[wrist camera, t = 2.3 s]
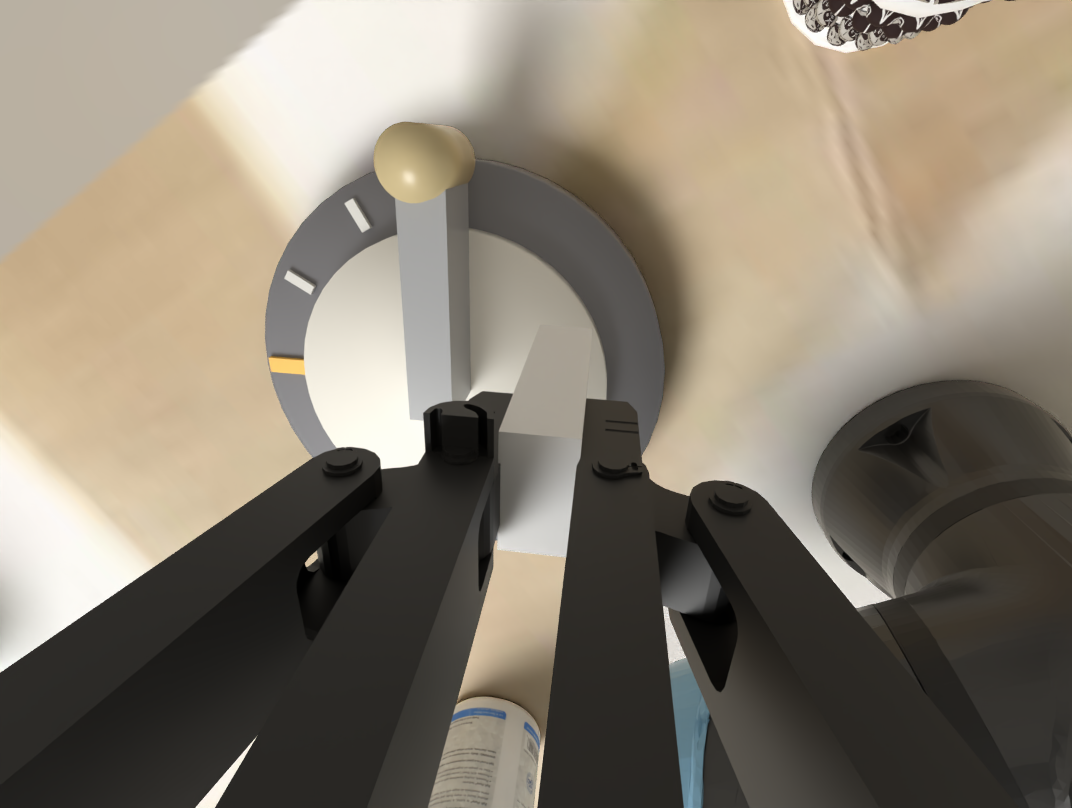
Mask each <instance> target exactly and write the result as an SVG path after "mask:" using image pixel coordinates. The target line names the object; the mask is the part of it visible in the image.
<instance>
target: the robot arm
mask: <svg viewBox="0 0 1072 808" xmlns="http://www.w3.org/2000/svg"><path fill="white" fill-rule="evenodd" d="M592 332H593V328H580V327H566V326H553V325H540V326H539V329H538V331H537V334H536V336H535V339H534V342H533V344H532V347H531V349H530V352H529V354H528V357H527V360H526V362H525V365H524V367H523V370H522V372H521V375H520V378H519V380H518V383H517V385H516V388H515V390H514V393H513V394H512V393H500V392H488V391H482V392H480V393H478V394H477V395H475V396H474V397H472V398H470V399H469V401H449V402H443V403H439V404H436V405H434V406H431V407H429V408H428V409H427V410H426V411H425V412H423V420H424V438H425V453H424V455H423V456H422V458H421V460H420V461H419V463H418V464H417V465H413V466H407V467H398V468H387V469H381V462H380V458H379V457H378V456H377V454H376V453H375V452H372V451H370V450H367V449H364V448H356V447H346V448H345V447H341V448H336V449H334V450H330V451H326V452H323V453H321V454H320V455H318V456H316V457H314V458H312V459H311V460H309V461H308V462H306V463H305V464H303V465H302V466H300V467H299V468H297V469H296V470H295V471H293V472H292V473H290V474H289V475H287V476H286V477H284V478H283V479H281V480H280V481H279V482H277V483H276V484H274V485H273V486H271V487H270V488H268V489H267V490H265V491H264V492H263V493H261V494H260V495H258V496H257V497H255V498H254V499H252V500H251V501H249V502H248V503H247V504H245V505H244V506H242V507H241V508H239V509H238V510H236V511H235V512H233V513H232V514H231V515H229V516H228V517H226V518H225V519H223V520H222V521H220V522H219V523H217V524H216V525H215V526H213V527H212V528H210V529H209V530H207V531H206V532H204V533H203V534H201V535H200V536H199V537H197V538H196V539H194V540H193V541H191V542H190V543H188V544H187V545H185V546H184V547H183V548H181V549H180V550H178V551H177V552H175V553H174V554H172V555H171V556H169V557H168V558H167V559H165V560H164V561H162V562H161V563H159V564H158V565H156V566H155V567H153V568H152V569H151V570H149V571H148V572H146V573H145V574H143V575H142V576H140V577H139V578H137V579H136V580H135V581H133V582H132V583H130V584H129V585H127V586H126V587H124V588H123V589H121V590H120V591H119V592H117V593H116V594H114V595H113V596H111V597H110V598H108V599H107V600H105V601H104V602H102V603H101V604H100V605H98V606H97V607H95V608H94V609H92V610H91V611H89V612H88V613H86V614H85V615H84V616H82V617H81V618H79V619H78V620H76V621H75V622H73V623H72V624H70V625H69V626H68V627H66V628H65V629H63V630H62V631H60V632H59V633H57V634H56V635H54V636H53V637H52V638H50V639H49V640H47V641H46V642H44V643H43V644H41V645H40V646H38V647H37V648H36V649H34V650H33V651H31V652H30V653H28V654H27V655H25V656H24V657H22V658H21V659H20V660H18V661H17V662H15V663H14V664H12V665H11V666H9V667H8V668H6V669H5V670H4V671H2V672H1V673H0V808H195V807H196V806H197V805H198V804H199V802H200V801H201V800H202V799H203V798H204V797H205V796H206V794H207V793H208V792H209V791H210V790H211V789H212V787H213V786H214V785H215V784H216V783H217V782H218V780H219V779H220V778H221V777H222V776H223V775H224V774H225V772H226V771H227V770H228V769H229V768H230V767H231V765H232V764H233V763H234V762H235V761H236V760H237V758H238V757H239V756H240V755H241V754H242V753H243V752H244V750H245V749H246V748H247V747H248V746H249V745H250V743H251V742H252V741H253V740H254V739H255V738H256V739H255V741H254V743H253V744H252V746H251V748H250V749H249V751H248V753H247V754H246V756H245V758H244V760H243V761H242V763H241V765H240V766H239V768H238V770H237V771H236V773H235V775H234V776H233V778H232V780H231V782H230V783H229V785H228V787H227V788H226V790H225V792H224V793H223V795H222V797H221V798H220V800H219V802H218V804H217V805H216V807H215V808H428V805H429V802H430V798H431V794H432V791H433V787H434V783H435V780H436V776H437V772H438V769H439V765H440V761H441V758H442V754H443V750H444V747H445V743H446V739H447V736H448V732H449V728H450V725H451V721H452V717H453V713H454V710H455V706H456V702H457V699H458V695H459V691H460V688H461V684H462V680H463V677H464V673H465V669H466V666H467V662H468V658H469V655H470V651H471V647H472V644H473V640H474V636H475V633H476V629H477V625H478V621H479V618H480V614H481V610H482V607H483V603H484V599H485V596H486V592H487V588H488V585H489V581H490V577H491V574H492V570H493V546H494V543H495V540H496V536H497V533H498V544H497V550H505V551H514V552H523V553H532V554H541V555H549V556H558V557H566V563H565V572H564V581H563V589H562V598H561V607H560V615H559V624H558V633H557V642H556V650H555V659H554V668H553V677H552V685H551V694H550V703H549V712H548V720H547V729H546V738H545V746H544V755H543V764H542V773H541V781H540V790H539V799H538V808H1072V436H1071V434H1070V433H1069V432H1068V430H1067V429H1066V428H1065V427H1064V426H1063V425H1062V424H1061V423H1060V422H1059V421H1058V420H1057V419H1056V418H1055V417H1053V416H1052V415H1051V414H1050V413H1048V412H1047V411H1045V410H1044V409H1042V408H1041V407H1039V406H1037V405H1036V404H1034V403H1033V402H1031V401H1029V400H1028V399H1026V398H1025V397H1023V396H1021V395H1019V394H1017V393H1016V392H1013V391H1011V390H1009V389H1006V388H1003V387H1000V386H997V385H993V384H989V383H984V382H976V381H962V380H961V381H942V382H934V383H929V384H924V385H919V386H916V387H912V388H909V389H906V390H903V391H900V392H897V393H895V394H892V395H890V396H888V397H886V398H884V399H882V400H880V401H878V402H876V403H874V404H873V405H871V406H869V407H868V408H866V409H865V410H863V411H862V412H860V413H859V414H858V415H856V416H855V417H854V418H853V419H851V420H850V421H849V422H848V423H847V424H846V425H845V426H844V427H843V428H842V429H841V430H840V431H839V432H838V433H837V434H836V435H835V436H834V438H833V439H832V440H831V442H830V443H829V444H828V446H827V447H826V449H825V450H824V452H823V454H822V456H821V458H820V460H819V462H818V464H817V467H816V470H815V474H814V478H813V483H812V504H813V509H814V513H815V516H816V518H817V520H818V523H819V525H820V526H821V528H822V530H823V532H824V534H825V536H826V538H827V539H828V541H829V543H830V544H831V546H832V547H833V549H834V550H835V551H836V553H837V554H838V555H839V556H840V557H841V558H842V559H843V560H844V561H845V562H846V563H847V564H848V565H849V566H850V567H852V568H853V569H854V570H855V571H857V572H858V573H860V574H861V575H863V576H865V577H866V578H867V579H868V580H869V581H870V582H871V583H872V584H873V585H875V586H876V587H877V588H878V589H880V590H881V591H882V592H883V593H885V594H886V595H887V596H889V597H890V598H891V600H887V601H884V602H880V603H877V604H871V605H867V606H864V607H860V608H857V609H856V608H855V607H854V606H853V605H852V604H851V602H850V601H849V600H848V599H847V598H846V596H845V595H844V594H843V593H842V591H841V590H840V589H839V588H838V587H837V585H836V584H835V583H834V582H833V581H832V579H831V578H830V577H829V576H828V574H827V573H826V572H825V571H824V570H823V568H822V567H821V566H820V565H819V564H818V562H817V561H816V560H815V559H814V557H813V556H812V555H811V554H810V553H809V551H808V550H807V549H806V548H805V547H804V545H803V544H802V543H801V542H800V540H799V539H798V538H797V537H796V536H795V534H794V533H793V532H792V531H791V530H790V528H789V527H788V526H787V525H786V523H785V522H784V521H783V520H782V519H781V517H780V516H779V515H778V514H777V513H776V511H775V510H774V509H773V508H772V506H771V505H770V504H769V503H768V502H767V500H765V499H764V498H763V497H762V496H761V495H760V494H758V493H757V492H755V491H754V490H752V489H750V488H748V487H746V486H744V485H741V484H738V483H734V482H730V481H715V480H714V481H708V482H702V483H700V484H698V485H696V486H695V487H693V489H692V491H691V493H690V496H686V495H683V494H679V493H676V492H673V491H670V490H667V489H665V488H663V487H661V486H659V485H657V484H655V483H654V482H653V481H652V480H650V479H649V472H648V470H647V468H646V466H645V465H644V464H643V463H642V457H641V446H640V436H639V425H638V414H637V411H636V410H635V409H634V408H633V407H632V406H631V405H630V404H629V403H628V402H624V401H613V400H601V399H589V398H587V391H588V380H589V368H590V356H591V344H592ZM315 551H317V554H318V559H317V560H316V561H315V562H314V563H312V564H311V565H310V566H308V567H306V566H305V562H306V561H307V559H308V558H309V557H310V556H311V555H312V554H313V553H314V552H315ZM663 606H666V607H668V610H669V616H670V620H671V623H672V625H673V627H674V630H675V632H676V634H677V637H678V639H679V642H680V644H681V646H682V649H683V651H684V653H685V656H686V658H684V659H681V660H678V661H675V662H673V663H671V664H670V665H669V660H668V651H667V641H666V632H665V622H664V613H663ZM257 735H258V736H257ZM256 736H257V737H256Z"/></svg>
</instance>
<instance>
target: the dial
mask: <svg viewBox="0 0 1072 808" xmlns="http://www.w3.org/2000/svg"><path fill="white" fill-rule="evenodd" d="M374 168H375V172H376V175H377V177H378V179H379V181H380V183H381V185H382V186H383V187H384V189H385V190H386V191H387V192H388V193H389V194H390V195H392V196H393V197H394V198H395V206H396V221H397V235H394V236H391V237H389V238H387V239H384V240H382V241H380V242H378V243H376V244H374V245H372V246H370V247H368V248H366V249H364V250H363V251H361V252H360V253H358V254H357V255H355V256H354V257H353V258H351V259H350V260H348V261H347V262H346V263H345V264H344V265H343V266H342V267H341V268H340V269H339V270H338V271H337V272H336V273H335V274H334V275H333V277H332V278H331V279H330V280H329V282H328V283H327V284H326V286H325V287H324V288H323V290H322V292H321V294H320V296H319V298H318V299H317V301H316V303H315V305H314V308H313V311H312V313H311V316H310V319H309V322H308V326H307V331H306V337H305V345H304V367H305V377H306V382H307V387H308V391H309V395H310V398H311V401H312V404H313V407H314V410H315V412H316V414H317V416H318V418H319V420H320V422H321V424H322V426H323V429H324V430H325V432H326V433H327V435H328V436H329V438H330V439H331V441H332V442H333V444H334V445H335V446H336V448H341V447H345V448H346V447H356V448H364V449H367V450H370V451H372V452H375V453H376V454H377V456H378V457H379V458H380V462H381V469H387V468H398V467H407V466H413V465H417V464H418V463H419V461H420V460H421V458H422V456H423V455H424V453H425V438H424V420H423V412H425V411H426V410H427V409H428V408H429V407H431V406H434V405H436V404H439V403H443V402H449V401H469V399H470V398H472V397H474V396H475V395H477V394H478V393H480V392H482V391H488V392H500V393H512V394H513V393H514V390H515V388H516V385H517V383H518V380H519V378H520V375H521V372H522V370H523V367H524V365H525V362H526V360H527V357H528V354H529V352H530V349H531V347H532V344H533V342H534V339H535V336H536V334H537V331H538V329H539V326H540V325H553V326H566V327H580V328H593V332H592V344H591V356H590V368H589V380H588V391H587V398H589V399H601V400H606V393H607V370H606V361H605V354H604V350H603V346H602V342H601V339H600V335H599V333H598V330H597V328H596V326H595V323H594V321H593V318H592V316H591V315H590V313H589V311H588V309H587V308H586V306H585V304H584V302H583V301H582V299H581V298H580V297H579V295H578V294H577V293H576V291H575V290H574V289H573V287H572V286H571V285H570V284H569V282H568V281H567V280H566V279H565V278H564V277H563V276H562V275H561V274H560V273H559V272H558V271H557V270H556V269H555V268H554V267H552V266H551V265H550V264H548V263H547V262H546V261H544V260H543V259H542V258H541V257H539V256H538V255H537V254H535V253H533V252H532V251H530V250H528V249H526V248H525V247H523V246H521V245H520V244H518V243H516V242H513V241H511V240H508V239H506V238H504V237H501V236H499V235H496V234H493V233H489V232H485V231H481V230H478V229H472V228H469V216H468V182H469V181H470V179H471V178H472V176H473V173H474V169H475V154H474V150H473V147H472V145H471V143H470V141H469V140H468V138H467V137H466V136H465V135H464V134H463V133H462V132H461V131H459V130H457V129H456V128H453V127H450V126H445V125H434V124H424V123H413V122H401V123H397V124H394V125H392V126H390V127H389V128H387V129H386V130H385V131H384V132H383V133H382V134H381V136H380V137H379V139H378V141H377V143H376V146H375V150H374Z"/></svg>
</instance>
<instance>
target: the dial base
mask: <svg viewBox="0 0 1072 808" xmlns="http://www.w3.org/2000/svg"><path fill="white" fill-rule="evenodd" d="M468 216H469V228H472V229H478V230H481V231H485V232H489V233H493V234H496V235H499V236H501V237H504V238H506V239H508V240H511V241H513V242H516V243H518V244H520V245H521V246H523V247H525V248H526V249H528V250H530V251H532V252H533V253H535V254H537V255H538V256H539V257H541V258H542V259H543V260H544V261H546V262H547V263H548V264H550V265H551V266H552V267H554V268H555V269H556V270H557V271H558V272H559V273H560V274H561V275H562V276H563V277H564V278H565V279H566V280H567V281H568V282H569V284H570V285H571V286H572V287H573V289H574V290H575V291H576V293H577V294H578V295H579V297H580V298H581V299H582V301H583V302H584V304H585V306H586V308H587V309H588V311H589V313H590V315H591V316H592V318H593V321H594V323H595V326H596V328H597V330H598V333H599V335H600V339H601V342H602V346H603V350H604V354H605V361H606V370H607V393H606V400H613V401H624V402H628V403H629V404H630V405H631V406H632V407H633V408H634V409H635V410H636V411H637V414H638V425H639V436H640V446H641V456H642V454H643V452H644V450H645V449H646V447H647V445H648V443H649V441H650V438H651V436H652V433H653V431H654V428H655V425H656V423H657V420H658V416H659V411H660V407H661V402H662V398H663V388H664V374H665V367H664V352H663V342H662V337H661V333H660V328H659V323H658V319H657V315H656V311H655V307H654V303H653V300H652V298H651V295H650V292H649V290H648V287H647V284H646V281H645V279H644V277H643V275H642V273H641V271H640V269H639V268H638V266H637V264H636V262H635V260H634V258H633V256H632V255H631V253H630V252H629V250H628V249H627V248H626V246H625V245H624V244H623V242H622V241H621V239H620V238H619V237H618V235H617V234H616V233H615V232H614V230H613V229H612V228H611V227H610V226H609V225H608V224H607V223H606V222H605V221H604V220H603V219H602V218H601V217H600V216H599V215H598V214H597V213H596V212H595V211H594V210H593V209H591V208H590V207H589V206H588V205H586V204H585V203H584V202H583V201H581V200H580V199H579V198H578V197H576V196H575V195H574V194H572V193H571V192H569V191H567V190H566V189H564V188H562V187H561V186H559V185H557V184H556V183H554V182H552V181H550V180H549V179H546V178H544V177H542V176H539V175H537V174H535V173H532V172H530V171H527V170H525V169H523V168H519V167H516V166H512V165H508V164H504V163H500V162H497V161H491V160H483V159H475V169H474V173H473V176H472V178H471V179H470V181H469V182H468ZM394 235H397V221H396V206H395V198H394V197H393V196H392V195H390V194H389V193H388V192H387V191H386V190H385V189H384V187H383V186H382V185H381V183H380V181H379V179H378V177H377V175H376V172H372V173H369V174H367V175H365V176H363V177H361V178H359V179H357V180H355V181H353V182H352V183H350V184H348V185H346V186H344V187H342V188H341V189H340V190H338V191H337V192H336V193H334V194H333V195H332V196H330V197H329V198H328V199H326V200H325V201H324V202H322V203H321V204H320V205H319V206H318V207H317V208H316V209H315V210H314V211H313V212H312V213H311V214H310V215H309V216H308V217H307V219H306V220H305V221H304V222H303V223H302V224H301V226H300V227H299V228H298V230H297V231H296V233H295V234H294V236H293V237H292V239H291V240H290V241H289V243H288V245H287V247H286V249H285V251H284V253H283V255H282V257H281V259H280V261H279V263H278V265H277V268H276V271H275V274H274V277H273V280H272V284H271V287H270V290H269V296H268V303H267V309H266V321H265V342H266V350H267V359H268V365H269V369H270V373H271V377H272V381H273V385H274V388H275V391H276V394H277V396H278V399H279V402H280V404H281V407H282V409H283V411H284V413H285V415H286V417H287V419H288V421H289V423H290V425H291V427H292V429H293V430H294V432H295V433H296V435H297V436H298V438H299V439H300V441H301V442H302V444H303V445H304V447H305V448H306V450H307V451H308V452H309V454H310V455H311V456H312V457H313V458H314V457H316V456H318V455H320V454H321V453H323V452H326V451H330V450H334V449H336V446H335V445H334V444H333V442H332V441H331V439H330V438H329V436H328V435H327V433H326V432H325V430H324V429H323V426H322V424H321V422H320V420H319V418H318V416H317V414H316V412H315V410H314V407H313V404H312V401H311V398H310V395H309V391H308V387H307V382H306V377H305V367H304V345H305V337H306V331H307V326H308V322H309V319H310V316H311V313H312V311H313V308H314V305H315V303H316V301H317V299H318V298H319V296H320V294H321V292H322V290H323V288H324V287H325V286H326V284H327V283H328V282H329V280H330V279H331V278H332V277H333V275H334V274H335V273H336V272H337V271H338V270H339V269H340V268H341V267H342V266H343V265H344V264H345V263H346V262H347V261H348V260H350V259H351V258H353V257H354V256H355V255H357V254H358V253H360V252H361V251H363V250H364V249H366V248H368V247H370V246H372V245H374V244H376V243H378V242H380V241H382V240H384V239H387V238H389V237H391V236H394ZM496 540H498V533H497V536H496Z"/></svg>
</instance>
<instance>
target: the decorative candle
mask: <svg viewBox="0 0 1072 808" xmlns="http://www.w3.org/2000/svg"><path fill="white" fill-rule="evenodd" d="M989 1H992V0H783V2H784V5H785V8H786V10H787V13H788V16H789V18H790V21H791V23H792V24H793V25H794V26H795V27H796V28H797V29H798V30H799V31H800V32H801V33H802V34H803V35H804V36H806V37H807V38H808V39H809V40H810V41H811V42H812V43H813V44H814V45H817V46H820V47H824V48H828V49H832V50H836V51H839V52H843V53H849V52H854V51H864V50H868V49H871V48H876V47H881V46H883V45H885V44H887V43H888V42H889V43H891V44H897V43H899V42H900V41H901V40H902V39H903V38H906V39H912V38H914V37H916V36H917V35H918V34H919V33H920V32H921V31H922V30H923V31H932V30H934V29H936V28H938V27H939V26H940V25H941V24H944V25H951V24H953V23H955V22H957V21H958V20H960V19H961V18H962V17H963V16H964V15H965V14H966V12H967V11H968V9H969V8H971V7H973V6H974V5H976V4H979V3H986V2H989ZM1006 1H1014V0H1006Z"/></svg>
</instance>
